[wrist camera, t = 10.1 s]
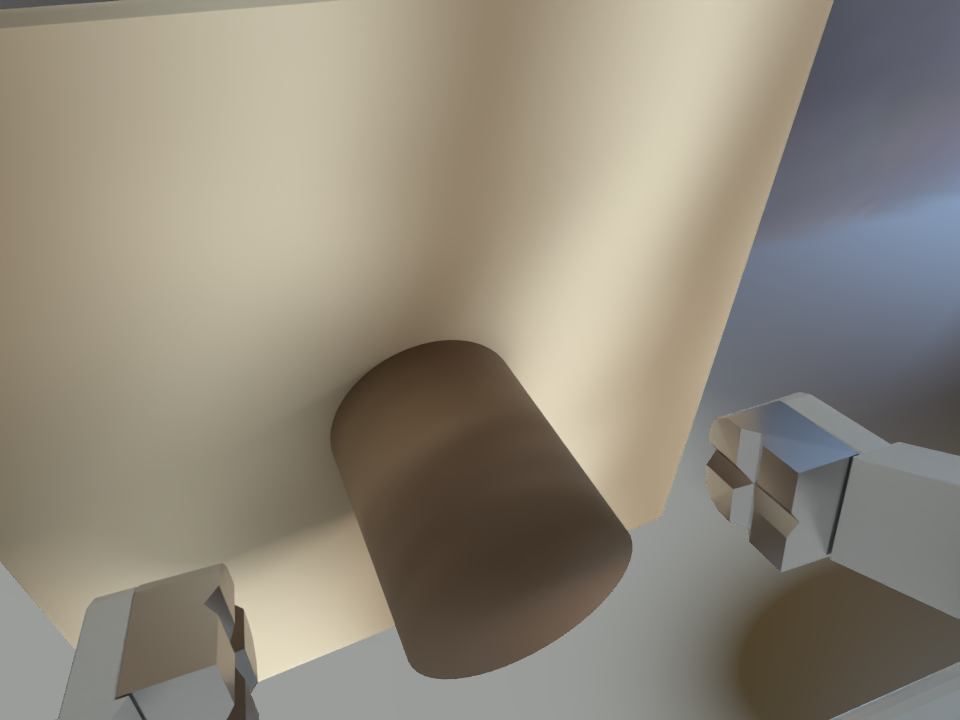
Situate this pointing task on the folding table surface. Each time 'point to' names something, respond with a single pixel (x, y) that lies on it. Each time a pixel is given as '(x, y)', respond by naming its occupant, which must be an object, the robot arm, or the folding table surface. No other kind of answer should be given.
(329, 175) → the lid
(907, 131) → the folding table surface
